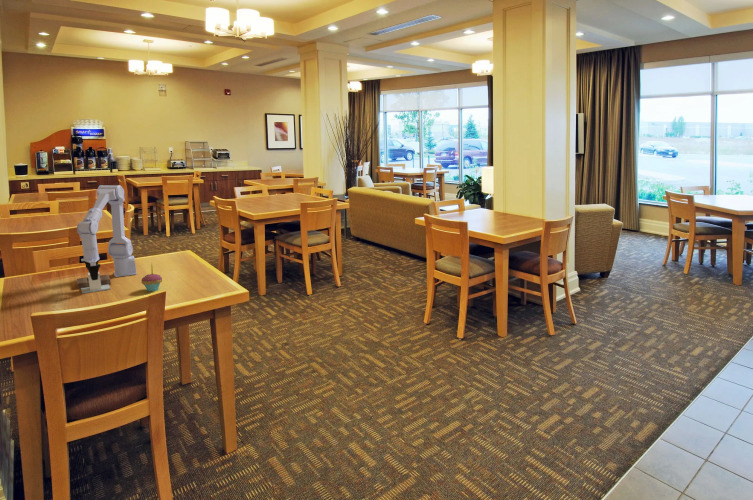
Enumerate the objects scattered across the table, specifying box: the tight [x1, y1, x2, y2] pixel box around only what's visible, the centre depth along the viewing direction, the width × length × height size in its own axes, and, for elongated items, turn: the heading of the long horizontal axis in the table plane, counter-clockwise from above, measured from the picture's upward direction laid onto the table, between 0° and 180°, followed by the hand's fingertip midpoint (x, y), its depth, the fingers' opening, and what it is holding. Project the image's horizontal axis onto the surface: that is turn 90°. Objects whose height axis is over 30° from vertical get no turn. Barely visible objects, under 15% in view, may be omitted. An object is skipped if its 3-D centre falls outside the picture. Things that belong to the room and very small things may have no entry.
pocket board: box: [76, 274, 112, 290], centre depth 236 cm, size 13×9×2 cm
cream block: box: [87, 271, 102, 290], centre depth 227 cm, size 4×4×7 cm
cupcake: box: [141, 263, 163, 292], centre depth 226 cm, size 9×8×12 cm
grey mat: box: [80, 284, 111, 294], centre depth 228 cm, size 11×7×1 cm, turn 122°
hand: (94, 278), depth 227 cm, fingers open, 6 cm apart
